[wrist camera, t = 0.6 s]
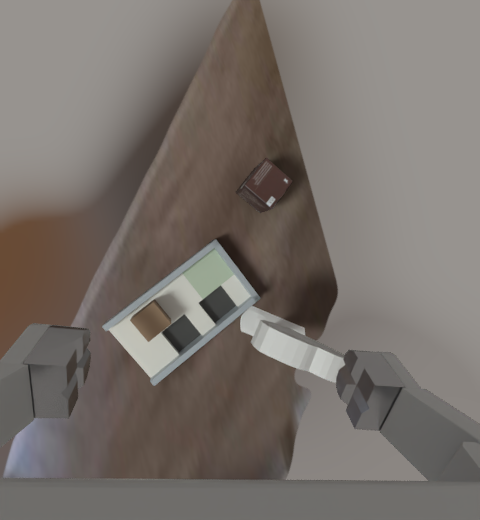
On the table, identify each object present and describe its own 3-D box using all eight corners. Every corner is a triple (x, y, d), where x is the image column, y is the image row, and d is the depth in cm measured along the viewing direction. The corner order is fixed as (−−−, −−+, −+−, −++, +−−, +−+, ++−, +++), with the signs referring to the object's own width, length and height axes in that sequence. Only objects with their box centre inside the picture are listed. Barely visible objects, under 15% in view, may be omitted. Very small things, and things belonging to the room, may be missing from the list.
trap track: (213, 239, 57) (215, 239, 54) (256, 295, 59) (260, 298, 57) (105, 322, 54) (102, 326, 51) (154, 378, 56) (154, 386, 53)
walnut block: (154, 298, 54) (153, 302, 51) (171, 319, 55) (171, 323, 51) (132, 315, 53) (129, 320, 50) (149, 336, 54) (148, 342, 51)
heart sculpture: (313, 331, 62) (370, 363, 45) (303, 355, 62) (357, 397, 44) (242, 301, 59) (273, 323, 41) (231, 327, 59) (258, 360, 41)
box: (254, 167, 59) (266, 156, 51) (279, 189, 60) (294, 180, 53) (234, 192, 58) (243, 185, 51) (259, 214, 59) (272, 209, 52)
